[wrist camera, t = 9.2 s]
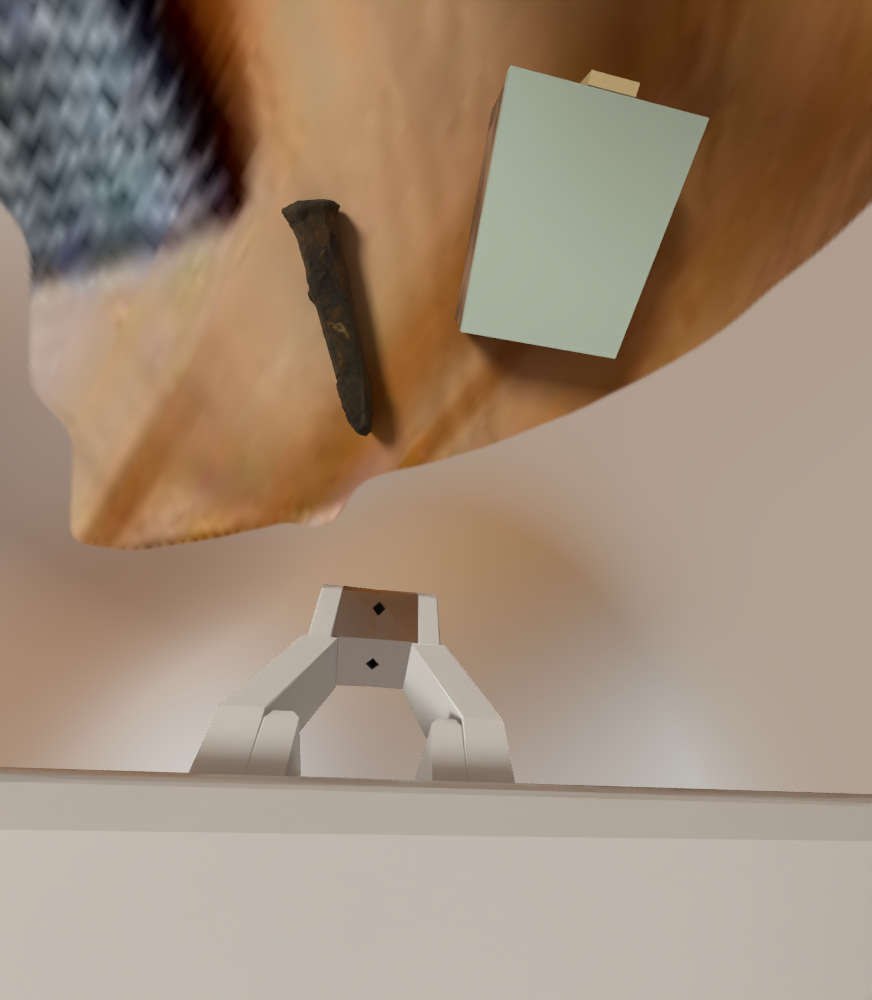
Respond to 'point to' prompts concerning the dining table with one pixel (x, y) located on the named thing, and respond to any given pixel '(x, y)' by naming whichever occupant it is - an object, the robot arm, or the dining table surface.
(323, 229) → the dark brown rough bar
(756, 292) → the dining table surface
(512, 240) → the lid
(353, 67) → the dining table surface
